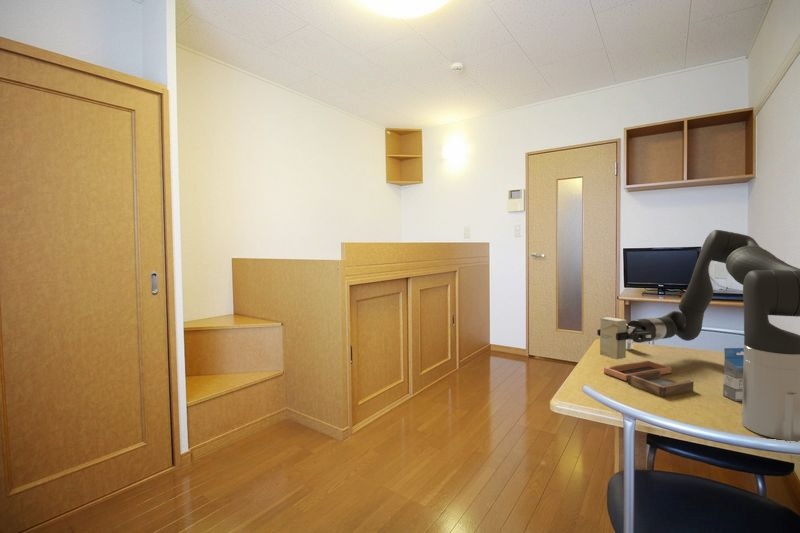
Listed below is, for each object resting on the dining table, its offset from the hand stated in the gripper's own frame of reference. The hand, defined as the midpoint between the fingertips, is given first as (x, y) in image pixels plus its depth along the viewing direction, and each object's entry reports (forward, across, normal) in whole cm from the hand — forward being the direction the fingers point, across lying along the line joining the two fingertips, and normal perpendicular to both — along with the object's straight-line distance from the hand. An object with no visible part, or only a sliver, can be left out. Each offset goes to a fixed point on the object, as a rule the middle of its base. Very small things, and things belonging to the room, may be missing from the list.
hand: (607, 334), depth 119 cm
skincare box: (-2, 0, +7) cm, 8 cm away
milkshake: (-25, -13, +10) cm, 30 cm away
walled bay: (0, +18, +11) cm, 21 cm away
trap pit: (-4, +7, +11) cm, 13 cm away
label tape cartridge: (-12, +31, +11) cm, 35 cm away
